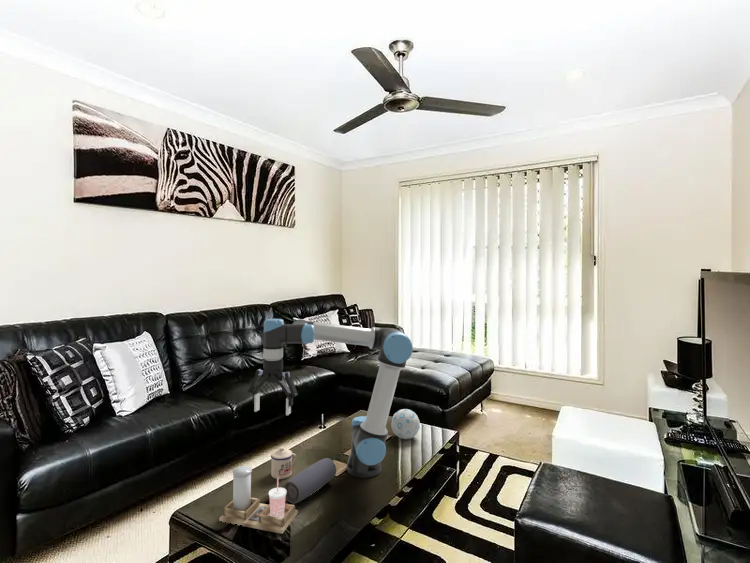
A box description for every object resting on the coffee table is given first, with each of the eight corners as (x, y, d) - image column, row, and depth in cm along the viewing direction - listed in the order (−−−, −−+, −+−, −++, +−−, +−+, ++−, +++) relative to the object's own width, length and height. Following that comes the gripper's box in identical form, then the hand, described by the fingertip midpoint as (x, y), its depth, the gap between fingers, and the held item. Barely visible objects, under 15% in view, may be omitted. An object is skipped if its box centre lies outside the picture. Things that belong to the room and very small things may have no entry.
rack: (297, 513, 148) (297, 503, 148) (282, 533, 137) (282, 522, 136) (238, 502, 154) (239, 492, 154) (219, 521, 142) (219, 510, 142)
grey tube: (254, 506, 149) (255, 467, 149) (244, 517, 143) (245, 476, 143) (238, 504, 151) (239, 464, 151) (228, 514, 145) (228, 473, 144)
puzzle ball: (386, 434, 220) (386, 407, 220) (410, 430, 227) (411, 403, 226) (399, 445, 207) (400, 416, 206) (425, 441, 213) (425, 412, 213)
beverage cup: (277, 510, 148) (278, 471, 147) (289, 516, 144) (290, 477, 144) (264, 518, 143) (265, 478, 142) (276, 524, 139) (277, 484, 139)
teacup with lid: (279, 482, 169) (279, 454, 169) (266, 474, 175) (266, 447, 175) (301, 471, 179) (302, 445, 178) (288, 464, 184) (289, 439, 184)
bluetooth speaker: (319, 477, 174) (319, 454, 174) (337, 483, 169) (337, 459, 169) (281, 502, 155) (282, 476, 154) (300, 510, 150) (301, 483, 149)
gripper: (306, 359, 161) (305, 412, 161) (249, 354, 167) (249, 406, 168) (298, 363, 153) (297, 419, 154) (239, 358, 160) (238, 412, 160)
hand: (272, 412), depth 161 cm, fingers open, 13 cm apart
